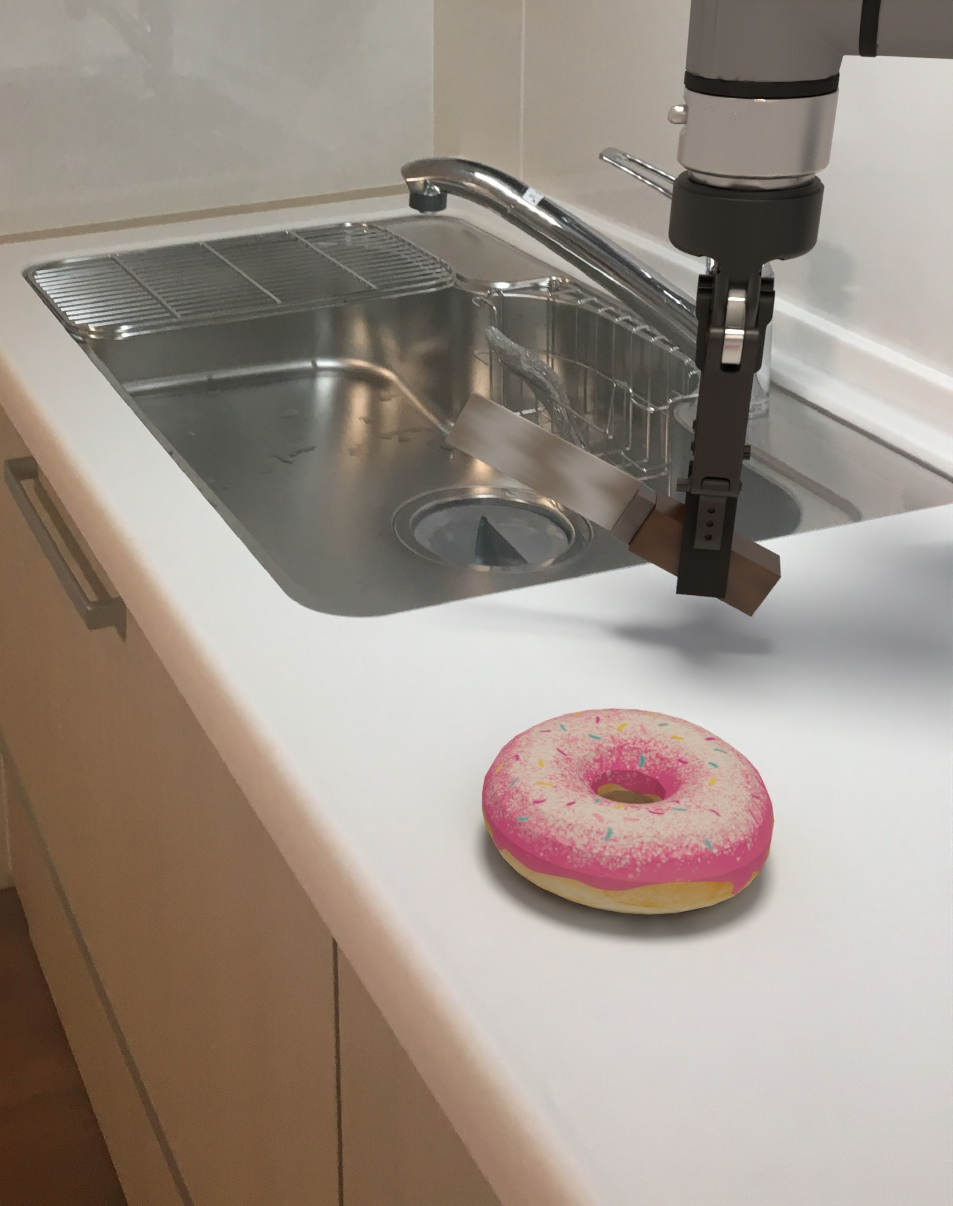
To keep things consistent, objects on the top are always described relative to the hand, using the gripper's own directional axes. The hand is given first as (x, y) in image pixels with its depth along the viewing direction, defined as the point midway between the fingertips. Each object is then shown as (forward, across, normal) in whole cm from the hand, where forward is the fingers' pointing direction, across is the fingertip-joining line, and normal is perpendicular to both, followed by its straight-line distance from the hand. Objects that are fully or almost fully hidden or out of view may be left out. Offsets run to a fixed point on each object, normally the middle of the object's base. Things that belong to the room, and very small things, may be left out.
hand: (701, 579), depth 96 cm
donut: (+4, +23, -3) cm, 24 cm away
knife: (-3, 0, -6) cm, 7 cm away
